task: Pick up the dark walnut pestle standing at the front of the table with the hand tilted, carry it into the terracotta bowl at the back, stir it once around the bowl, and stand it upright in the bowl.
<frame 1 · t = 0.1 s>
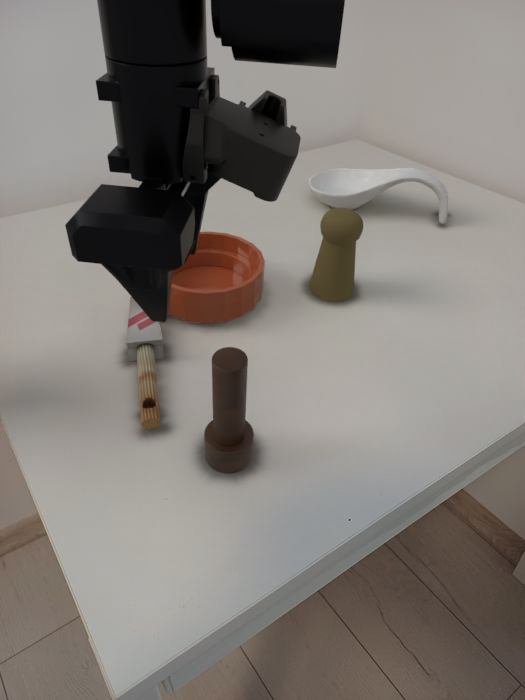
hand: (175, 284, 39), 16 cm above the table, tool pointing down, fingers open, 9 cm apart
bowl: (207, 292, 67), on the table
pestle: (228, 454, 48), on the table
olive game pawn: (330, 290, 69), on the table
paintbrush: (146, 362, 57), on the table
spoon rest: (374, 209, 88), on the table
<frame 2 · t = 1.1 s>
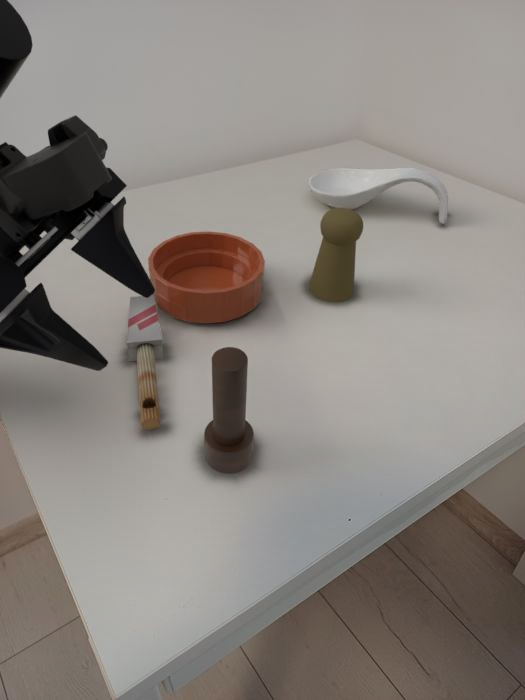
hand: (129, 327, 40), 13 cm above the table, tool tilted 45°, fingers open, 9 cm apart
nothing on the table moved.
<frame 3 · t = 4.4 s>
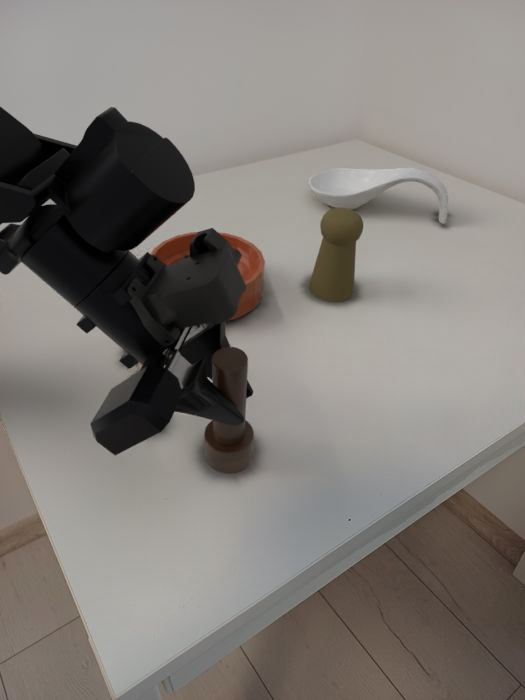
hand: (245, 409, 43), 7 cm above the table, tool tilted 45°, fingers closed on pestle, 3 cm apart
pestle: (228, 453, 48), on the table, touching gripper
everything else where it was.
when the fingers open (7 cm above the table, at t = 15.8 s): pestle stays where it is, resting on bowl.
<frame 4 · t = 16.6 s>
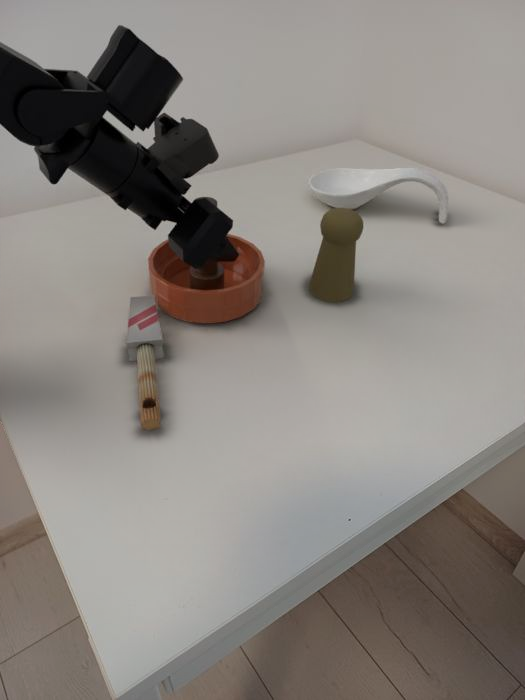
hand: (216, 240, 63), 7 cm above the table, tool tilted 45°, fingers open, 9 cm apart
pestle: (207, 289, 66), point 1 cm above the table, touching bowl
everything else where it was.
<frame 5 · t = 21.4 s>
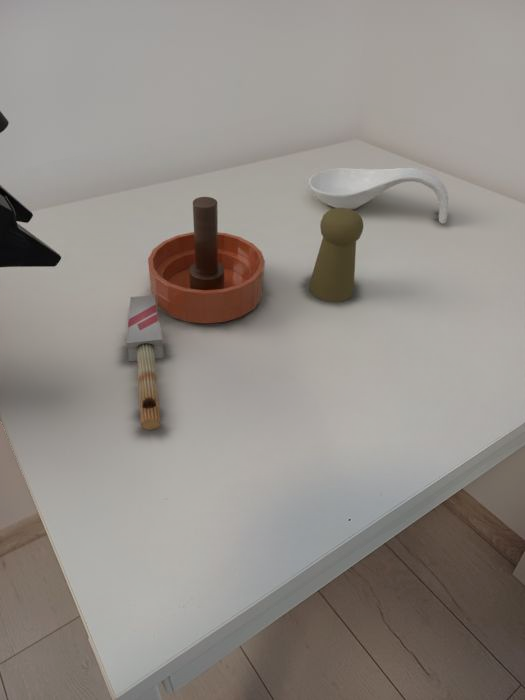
hand: (43, 238, 49), 14 cm above the table, tool tilted 45°, fingers open, 9 cm apart
nothing on the table moved.
at the end: pestle inside the target area in the bowl (0.0 cm from its centre), point 0.6 cm above the bowl's base; pestle tilted 0°; pestle moved 26.0 cm from its start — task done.
